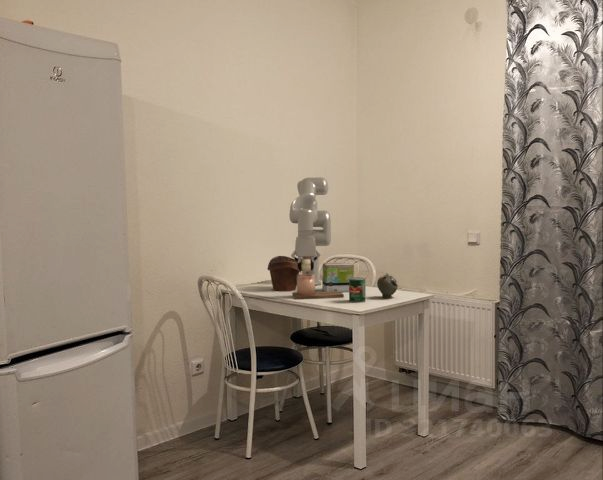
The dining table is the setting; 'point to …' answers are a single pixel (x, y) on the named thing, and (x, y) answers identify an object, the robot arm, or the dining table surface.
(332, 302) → the dining table surface
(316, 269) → the robot arm
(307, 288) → the jar
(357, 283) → the canned tomato
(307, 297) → the board
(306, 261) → the stopper
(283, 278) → the case
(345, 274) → the coffee box
